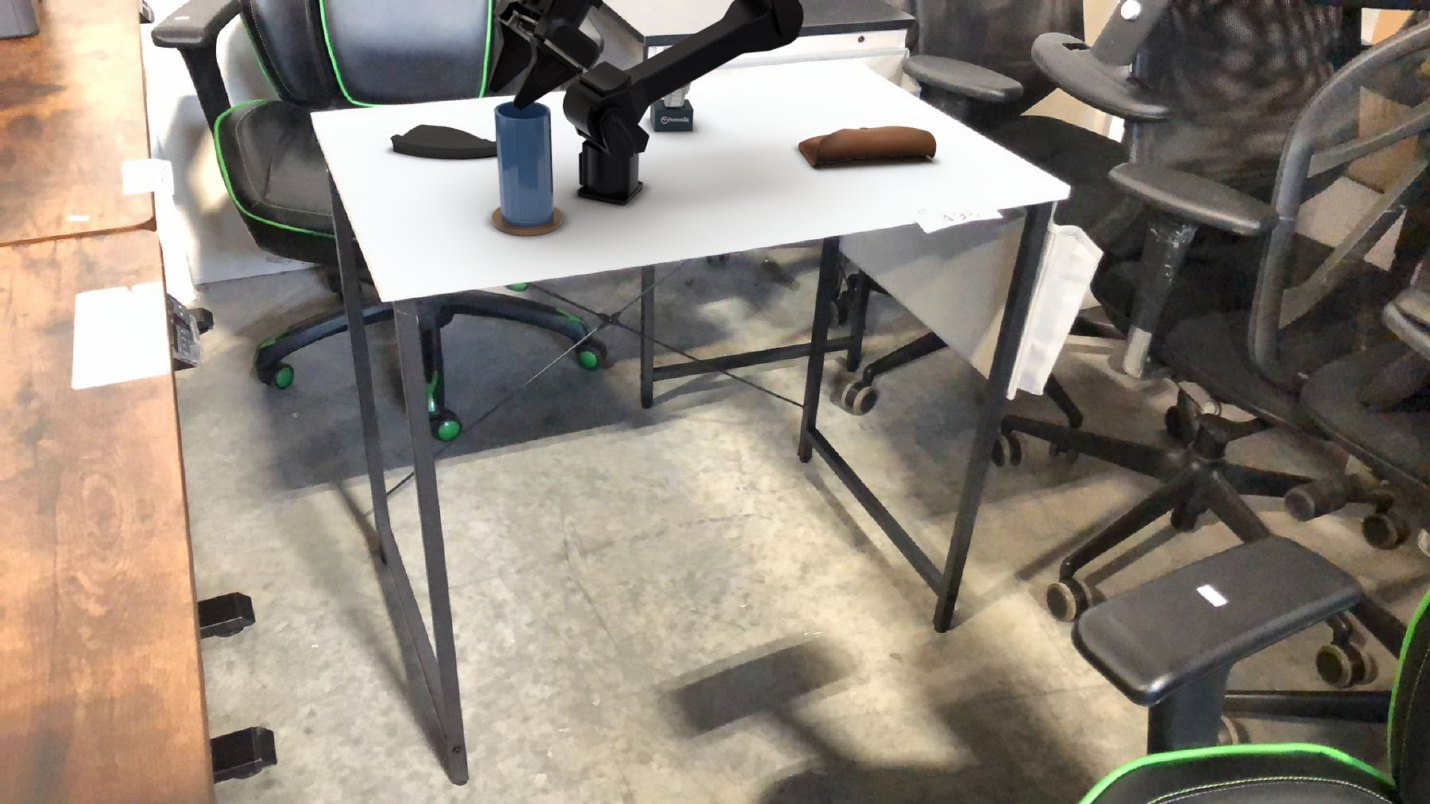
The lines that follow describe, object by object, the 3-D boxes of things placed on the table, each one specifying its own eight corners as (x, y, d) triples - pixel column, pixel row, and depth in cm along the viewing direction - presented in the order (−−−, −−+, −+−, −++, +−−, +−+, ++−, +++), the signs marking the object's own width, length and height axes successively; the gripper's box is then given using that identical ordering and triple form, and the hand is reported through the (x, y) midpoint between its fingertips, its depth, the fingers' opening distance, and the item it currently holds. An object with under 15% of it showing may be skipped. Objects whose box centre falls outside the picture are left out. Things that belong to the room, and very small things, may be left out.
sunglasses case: (908, 136, 144) (926, 105, 139) (922, 176, 142) (942, 146, 136) (793, 143, 140) (807, 111, 134) (806, 184, 137) (820, 154, 131)
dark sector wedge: (483, 169, 127) (482, 156, 126) (388, 151, 129) (387, 139, 128) (512, 146, 133) (512, 134, 132) (422, 129, 136) (420, 118, 135)
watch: (656, 136, 140) (659, 57, 133) (648, 116, 146) (650, 39, 140) (695, 135, 141) (700, 57, 134) (685, 115, 147) (689, 40, 141)
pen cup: (549, 203, 118) (546, 99, 111) (557, 225, 114) (553, 119, 106) (498, 206, 117) (491, 101, 109) (503, 228, 112) (496, 121, 105)
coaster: (573, 213, 118) (573, 208, 117) (543, 241, 111) (543, 236, 111) (512, 201, 119) (512, 196, 119) (479, 227, 113) (479, 222, 113)
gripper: (493, -82, 109) (419, 42, 111) (549, -70, 94) (463, 72, 96) (572, -17, 116) (501, 97, 118) (635, 3, 101) (554, 133, 103)
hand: (503, 99), depth 109 cm, fingers open, 9 cm apart
